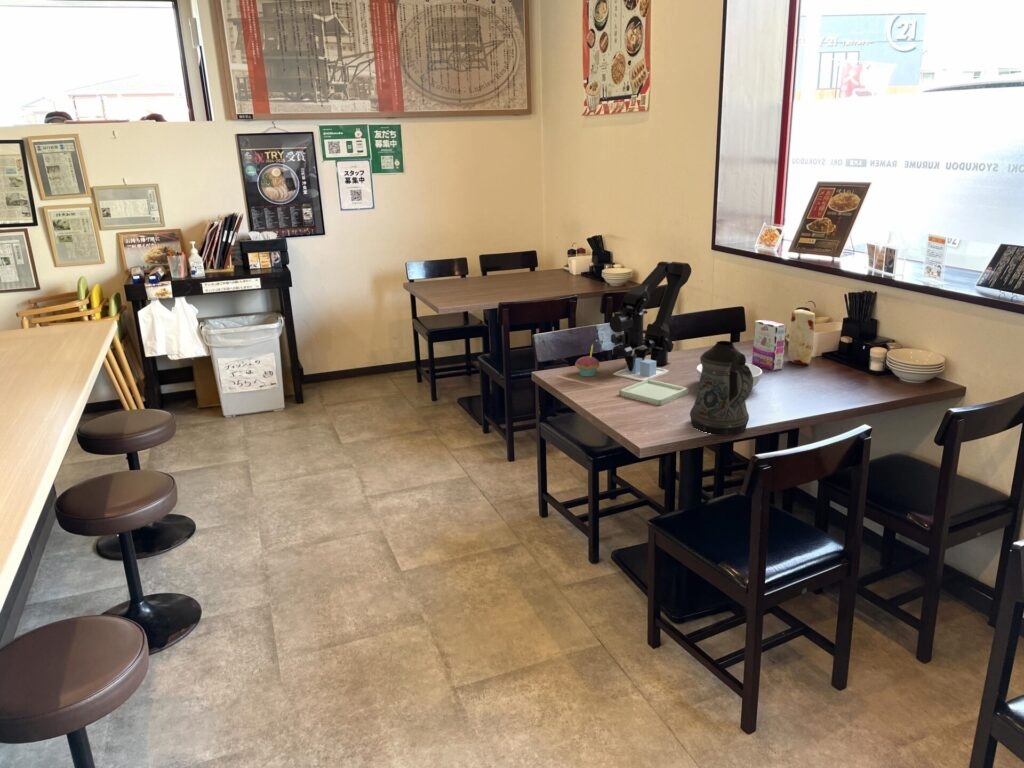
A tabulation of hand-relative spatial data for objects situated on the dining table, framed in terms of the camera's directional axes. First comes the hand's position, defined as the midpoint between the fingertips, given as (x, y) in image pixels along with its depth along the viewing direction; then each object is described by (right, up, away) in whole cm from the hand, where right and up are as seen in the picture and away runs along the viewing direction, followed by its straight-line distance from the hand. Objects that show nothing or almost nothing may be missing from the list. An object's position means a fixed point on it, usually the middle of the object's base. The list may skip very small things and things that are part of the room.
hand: (634, 369), depth 269 cm
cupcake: (-17, -2, -1) cm, 17 cm away
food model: (+62, +2, +6) cm, 62 cm away
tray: (+3, -8, -23) cm, 24 cm away
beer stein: (+17, -18, -52) cm, 57 cm away
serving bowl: (+28, -7, -19) cm, 35 cm away
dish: (+2, -2, -2) cm, 3 cm away
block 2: (+4, -2, -4) cm, 6 cm away
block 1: (0, -1, 0) cm, 1 cm away
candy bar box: (+49, +1, +3) cm, 49 cm away
